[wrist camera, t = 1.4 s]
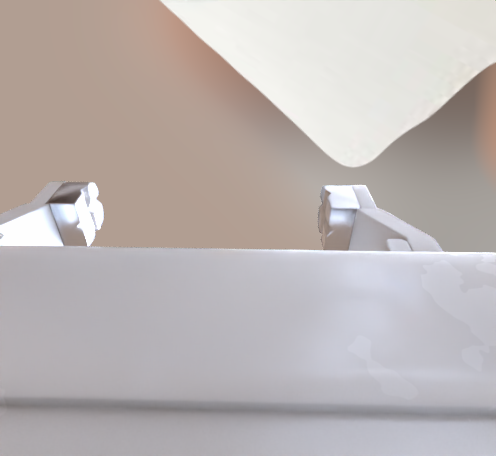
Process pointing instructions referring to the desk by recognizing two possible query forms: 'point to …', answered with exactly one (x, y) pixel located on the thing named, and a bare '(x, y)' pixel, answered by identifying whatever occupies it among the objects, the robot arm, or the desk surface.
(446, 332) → the robot arm
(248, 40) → the desk surface
